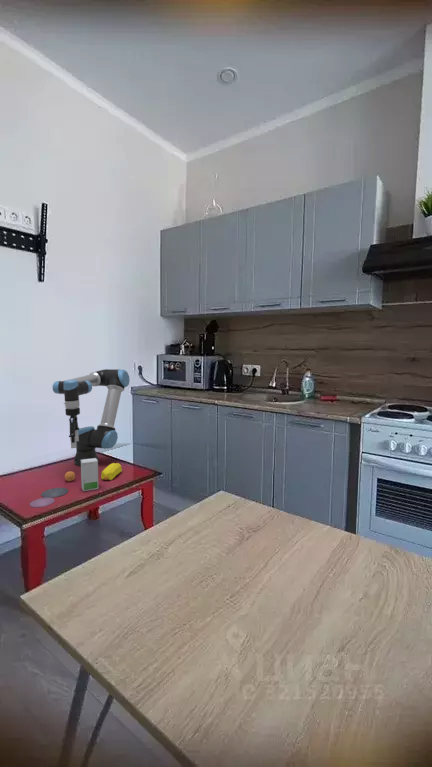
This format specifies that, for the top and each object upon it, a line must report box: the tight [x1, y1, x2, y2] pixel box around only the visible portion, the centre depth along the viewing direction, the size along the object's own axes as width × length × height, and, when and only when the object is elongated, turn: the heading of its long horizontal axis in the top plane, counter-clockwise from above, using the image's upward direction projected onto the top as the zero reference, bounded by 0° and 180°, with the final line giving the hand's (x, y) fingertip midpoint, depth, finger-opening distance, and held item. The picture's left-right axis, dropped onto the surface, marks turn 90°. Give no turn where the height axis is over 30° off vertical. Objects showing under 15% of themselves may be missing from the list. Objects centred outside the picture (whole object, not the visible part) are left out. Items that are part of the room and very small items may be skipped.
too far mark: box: [29, 497, 55, 508], centre depth 181 cm, size 11×11×1 cm
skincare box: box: [80, 458, 99, 492], centre depth 198 cm, size 8×7×16 cm
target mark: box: [40, 487, 69, 499], centre depth 193 cm, size 13×13×1 cm
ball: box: [64, 470, 76, 482], centre depth 209 cm, size 6×6×6 cm
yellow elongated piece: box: [100, 462, 123, 481], centre depth 217 cm, size 18×7×8 cm
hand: (75, 444), depth 210 cm, fingers open, 13 cm apart
